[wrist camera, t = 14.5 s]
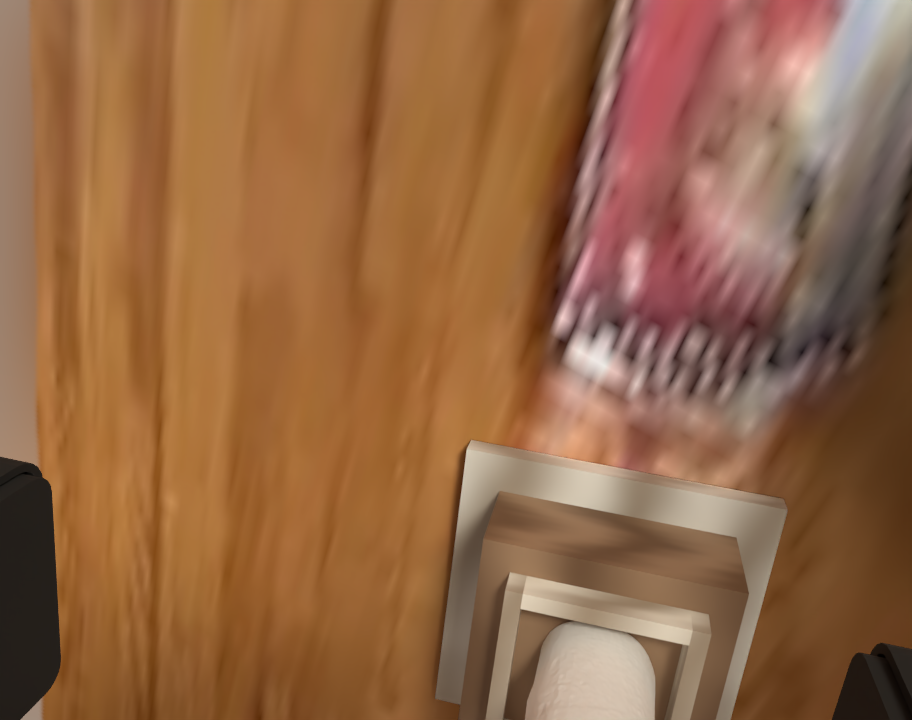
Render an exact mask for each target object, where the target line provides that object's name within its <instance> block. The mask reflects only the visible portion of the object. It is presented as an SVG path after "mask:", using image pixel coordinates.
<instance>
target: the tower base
mask: <svg viewBox="0 0 912 720" xmlns="http://www.w3.org/2000/svg"><path fill="white" fill-rule="evenodd" d="M787 511H788V509H787V506H786V504H785V501H784V499H782V498H777V497H771V496H766V495H761V494H755V493H750V492H745V491H740V490H734V489H729V488H724V487H718V486H713V485H708V484H702V483H697V482H692V481H687V480H681V479H676V478H671V477H665V476H660V475H655V474H649V473H644V472H639V471H634V470H628V469H623V468H618V467H612V466H607V465H602V464H596V463H591V462H586V461H581V460H575V459H570V458H565V457H559V456H554V455H549V454H543V453H538V452H533V451H528V450H522V449H517V448H512V447H506V446H501V445H496V444H490V443H485V442H480V441H475V440H471V441H470V443H469V445H468V447H467V451H466V459H465V467H464V475H463V483H462V491H461V498H460V506H459V514H458V522H457V530H456V538H455V546H454V553H453V561H452V569H451V577H450V585H449V593H448V601H447V609H446V616H445V624H444V632H443V640H442V648H441V656H440V664H439V671H438V679H437V687H436V695H435V699H438V700H442V701H446V702H450V703H455V704H459V705H460V710H459V717H458V720H525V714H526V706H527V700H528V697H529V694H530V691H531V689H532V687H533V684H534V680H535V675H536V671H537V666H538V662H539V657H540V652H541V648H542V645H543V642H544V640H545V639H546V637H547V636H548V634H549V633H550V632H551V631H552V630H553V629H554V628H556V627H557V626H559V625H561V624H563V623H566V622H570V621H578V622H582V623H587V624H592V625H596V626H601V627H605V628H610V629H614V630H619V631H624V632H626V633H628V634H629V635H631V636H632V637H634V638H635V639H636V640H637V641H638V642H639V643H640V644H641V645H642V647H643V648H644V649H645V651H646V653H647V654H648V656H649V658H650V661H651V664H652V667H653V670H654V674H655V720H730V719H731V716H732V712H733V709H734V705H735V701H736V698H737V694H738V690H739V687H740V683H741V679H742V676H743V672H744V668H745V665H746V661H747V657H748V654H749V650H750V646H751V643H752V639H753V635H754V632H755V628H756V624H757V621H758V617H759V614H760V610H761V606H762V603H763V599H764V595H765V592H766V588H767V584H768V581H769V577H770V573H771V570H772V566H773V562H774V559H775V555H776V551H777V548H778V544H779V540H780V537H781V533H782V529H783V526H784V522H785V519H786V515H787Z"/></svg>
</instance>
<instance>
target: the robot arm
mask: <svg viewBox="0 0 912 720" xmlns="http://www.w3.org/2000/svg"><path fill="white" fill-rule="evenodd" d="M60 662H61V653H60V635H59V616H58V598H57V579H56V560H55V542H54V523H53V504H52V490H51V486H50V484H49V482H48V481H47V480H46V479H44V478H43V477H42V473H41V471H40V470H39V468H38V467H37V466H35V465H34V464H31V463H27V462H22V461H17V460H13V459H8V458H3V457H0V720H20V719H21V718H22V717H23V716H24V715H25V714H26V713H27V712H28V711H29V710H30V709H31V708H32V707H33V706H34V705H35V704H36V703H37V702H38V701H39V700H40V699H41V698H42V697H43V696H44V695H45V694H46V693H47V692H48V690H49V689H50V688H51V686H52V685H53V683H54V681H55V679H56V677H57V675H58V672H59V668H60ZM832 720H912V649H909V648H904V647H899V646H894V645H890V644H885V643H880V644H877V645H876V646H875V647H874V649H873V650H872V652H871V654H870V655H869V654H864V653H857V654H855V656H854V657H853V658H852V661H851V663H850V665H849V669H848V672H847V675H846V678H845V681H844V684H843V687H842V690H841V693H840V696H839V699H838V703H837V706H836V709H835V712H834V715H833V718H832Z"/></svg>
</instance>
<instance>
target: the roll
mask: <svg viewBox="0 0 912 720" xmlns="http://www.w3.org/2000/svg"><path fill="white" fill-rule="evenodd" d="M525 720H655V674H654V670H653V667H652V664H651V661H650V658H649V656H648V654H647V653H646V651H645V649H644V648H643V647H642V645H641V644H640V643H639V642H638V641H637V640H636V639H635V638H634V637H632V636H631V635H629V634H628V633H626V632H624V631H619V630H614V629H610V628H605V627H601V626H596V625H592V624H587V623H582V622H578V621H570V622H566V623H563V624H561V625H559V626H557V627H556V628H554V629H553V630H552V631H551V632H550V633H549V634H548V636H547V637H546V639H545V640H544V642H543V645H542V648H541V652H540V657H539V662H538V666H537V671H536V675H535V680H534V684H533V687H532V689H531V691H530V694H529V697H528V700H527V706H526V714H525Z"/></svg>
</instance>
